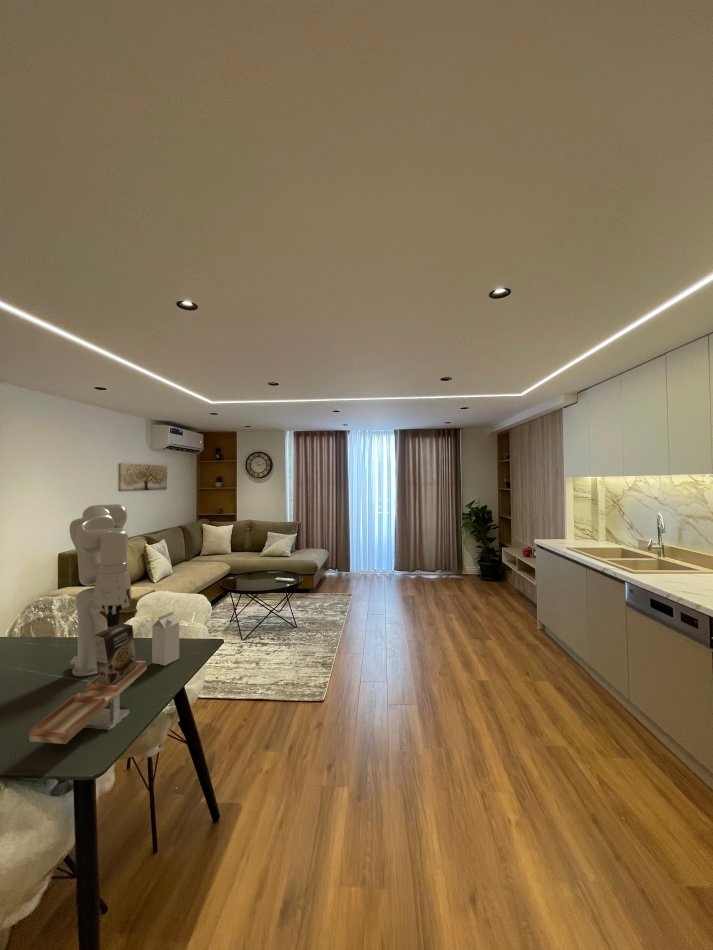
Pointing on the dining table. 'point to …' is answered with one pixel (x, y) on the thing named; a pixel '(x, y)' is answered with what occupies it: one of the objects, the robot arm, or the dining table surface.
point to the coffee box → (115, 653)
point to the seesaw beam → (80, 709)
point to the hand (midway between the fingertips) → (113, 625)
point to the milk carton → (165, 639)
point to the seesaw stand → (108, 715)
